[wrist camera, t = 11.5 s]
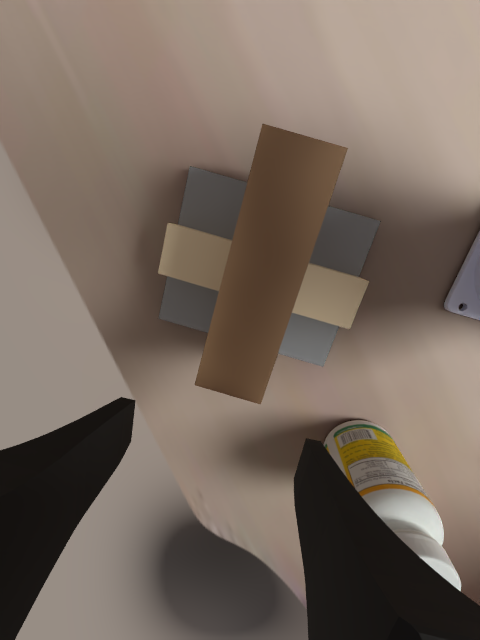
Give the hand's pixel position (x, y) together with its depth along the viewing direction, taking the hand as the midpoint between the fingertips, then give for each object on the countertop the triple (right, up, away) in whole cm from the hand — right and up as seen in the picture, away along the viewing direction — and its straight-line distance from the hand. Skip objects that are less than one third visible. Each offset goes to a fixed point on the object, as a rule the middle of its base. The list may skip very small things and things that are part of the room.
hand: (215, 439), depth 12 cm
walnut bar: (+2, +8, +5) cm, 10 cm away
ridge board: (+2, +8, +8) cm, 12 cm away
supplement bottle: (+10, -5, +11) cm, 16 cm away
